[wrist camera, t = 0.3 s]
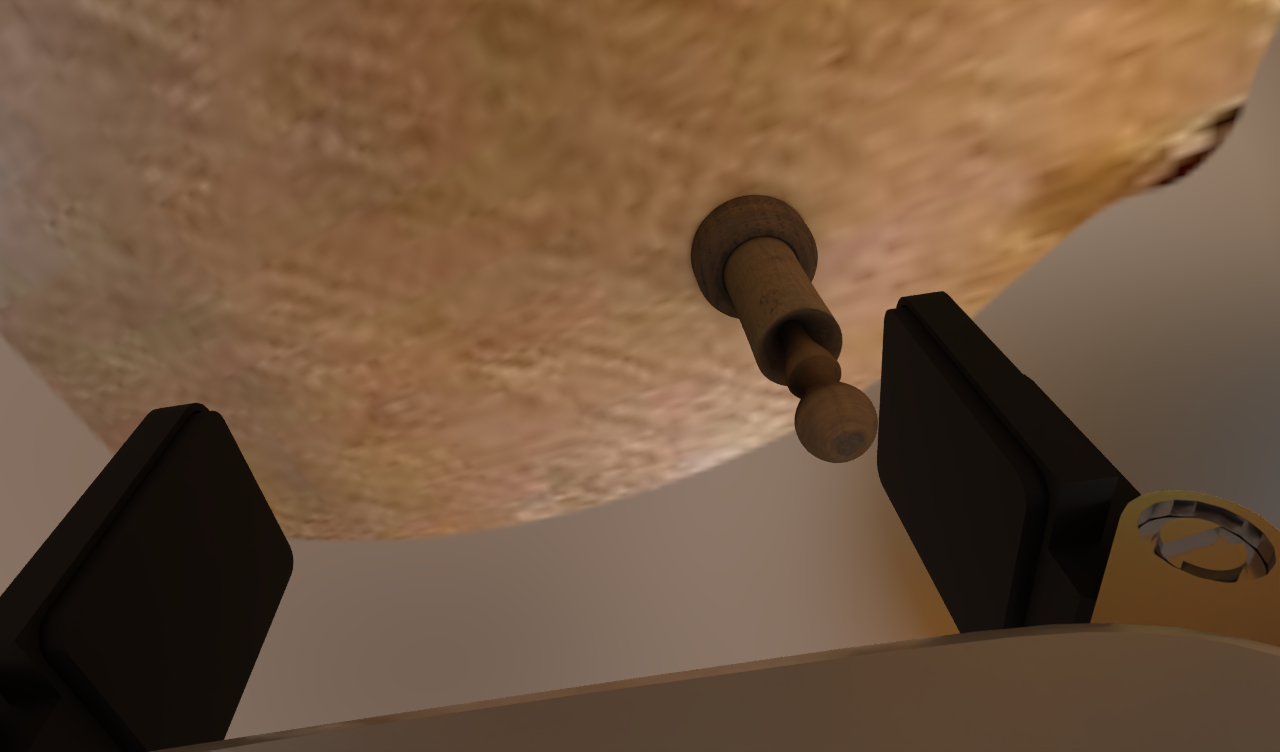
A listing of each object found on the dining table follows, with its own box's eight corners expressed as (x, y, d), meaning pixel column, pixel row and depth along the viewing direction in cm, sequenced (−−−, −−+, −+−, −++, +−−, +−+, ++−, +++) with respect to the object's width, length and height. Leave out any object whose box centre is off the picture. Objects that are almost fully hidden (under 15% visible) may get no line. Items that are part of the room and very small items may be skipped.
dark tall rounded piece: (787, 173, 41) (916, 339, 26) (821, 274, 44) (954, 473, 29) (672, 225, 42) (731, 414, 27) (715, 319, 45) (789, 535, 30)
